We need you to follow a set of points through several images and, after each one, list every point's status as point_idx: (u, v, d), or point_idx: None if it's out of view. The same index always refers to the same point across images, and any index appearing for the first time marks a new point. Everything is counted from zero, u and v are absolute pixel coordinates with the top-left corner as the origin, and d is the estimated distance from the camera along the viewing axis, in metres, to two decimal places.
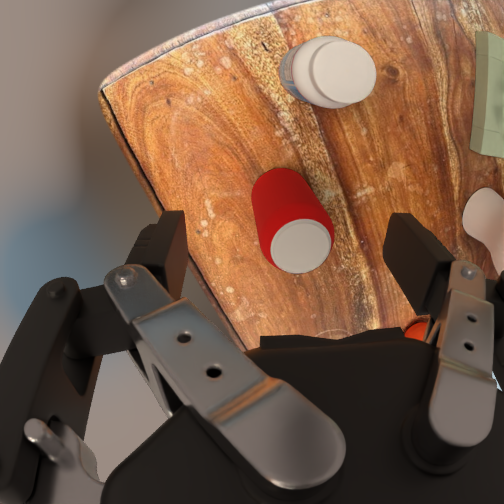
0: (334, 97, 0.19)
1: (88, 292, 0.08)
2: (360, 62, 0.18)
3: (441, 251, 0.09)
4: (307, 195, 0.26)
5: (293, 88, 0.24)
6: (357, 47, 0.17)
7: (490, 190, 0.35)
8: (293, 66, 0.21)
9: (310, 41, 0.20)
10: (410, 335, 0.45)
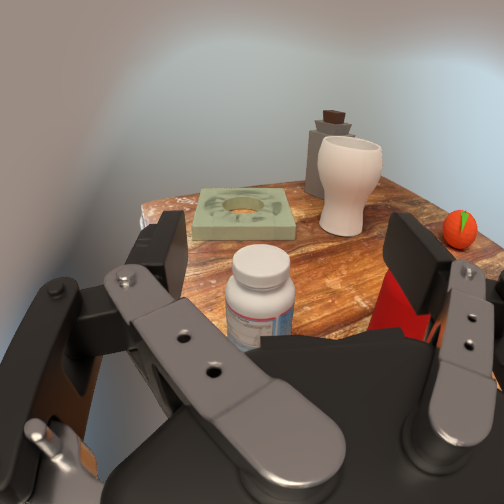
0: (286, 264, 0.25)
1: (88, 292, 0.08)
2: (251, 251, 0.27)
3: (441, 251, 0.09)
4: (378, 296, 0.26)
5: (279, 328, 0.27)
6: (237, 253, 0.27)
7: (321, 220, 0.55)
8: (258, 314, 0.25)
9: (232, 301, 0.26)
10: (458, 239, 0.47)
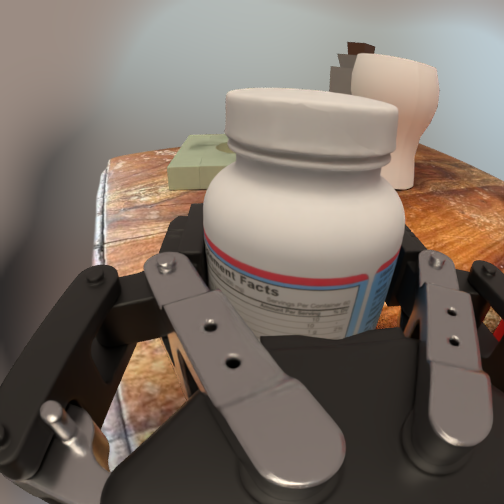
0: (390, 105, 0.07)
1: (125, 280, 0.08)
2: (279, 89, 0.09)
3: (410, 242, 0.09)
4: None
5: (367, 316, 0.08)
6: (241, 89, 0.08)
7: None
8: (317, 261, 0.07)
9: (222, 222, 0.08)
10: None
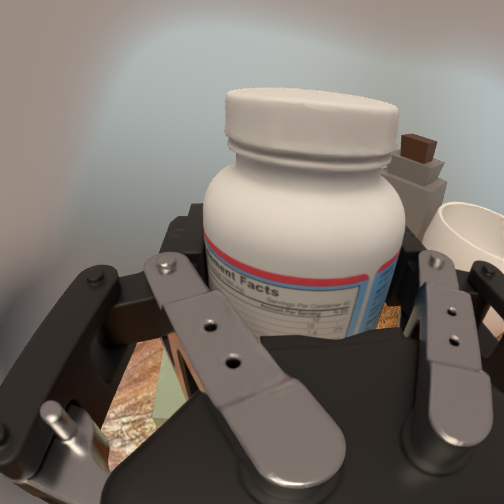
0: (391, 105, 0.07)
1: (125, 280, 0.08)
2: (279, 89, 0.09)
3: (410, 242, 0.09)
4: None
5: (367, 316, 0.08)
6: (241, 89, 0.08)
7: None
8: (317, 261, 0.07)
9: (222, 222, 0.08)
10: None
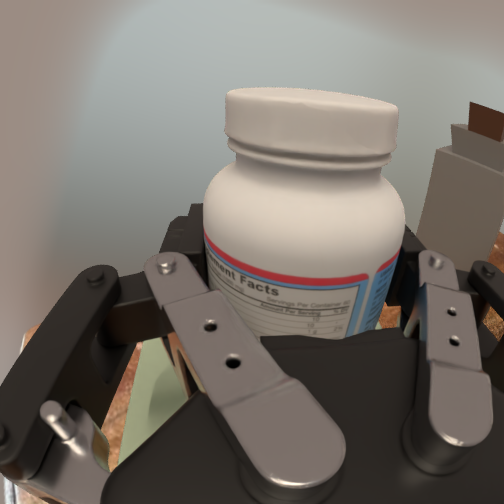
0: (390, 104, 0.07)
1: (125, 280, 0.08)
2: (279, 89, 0.09)
3: (411, 242, 0.09)
4: None
5: (367, 315, 0.08)
6: (242, 88, 0.08)
7: None
8: (317, 261, 0.07)
9: (222, 222, 0.08)
10: None
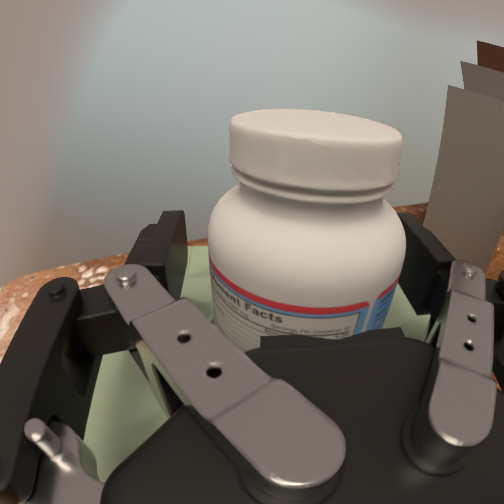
0: (394, 132, 0.07)
1: (88, 292, 0.08)
2: (282, 113, 0.09)
3: (441, 251, 0.09)
4: None
5: None
6: (245, 113, 0.09)
7: None
8: (319, 292, 0.07)
9: (227, 251, 0.08)
10: None
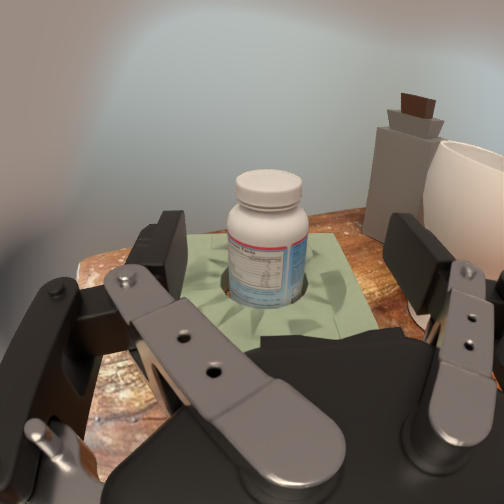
0: (297, 183, 0.21)
1: (88, 292, 0.08)
2: (256, 174, 0.23)
3: (441, 251, 0.09)
4: None
5: (291, 264, 0.23)
6: (241, 175, 0.23)
7: None
8: (267, 241, 0.21)
9: (235, 228, 0.22)
10: None
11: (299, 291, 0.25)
